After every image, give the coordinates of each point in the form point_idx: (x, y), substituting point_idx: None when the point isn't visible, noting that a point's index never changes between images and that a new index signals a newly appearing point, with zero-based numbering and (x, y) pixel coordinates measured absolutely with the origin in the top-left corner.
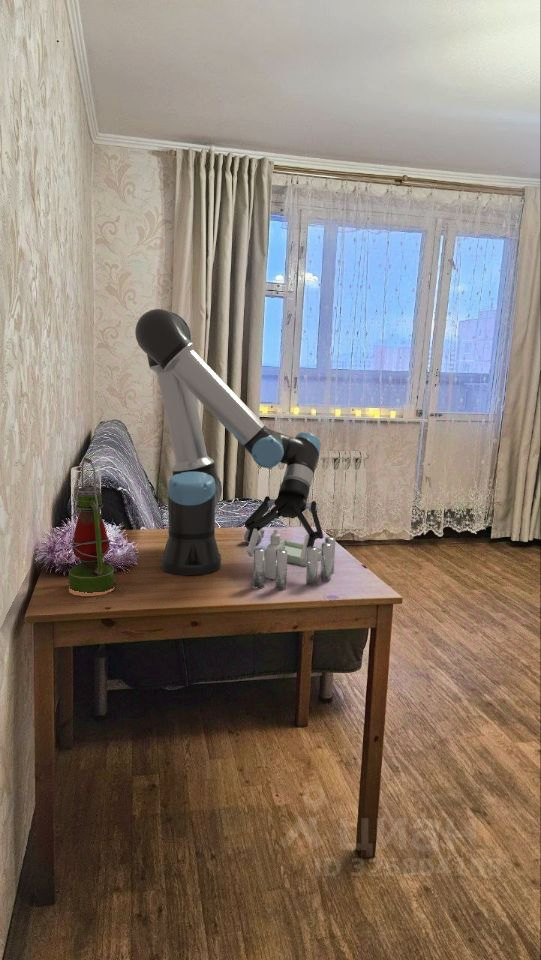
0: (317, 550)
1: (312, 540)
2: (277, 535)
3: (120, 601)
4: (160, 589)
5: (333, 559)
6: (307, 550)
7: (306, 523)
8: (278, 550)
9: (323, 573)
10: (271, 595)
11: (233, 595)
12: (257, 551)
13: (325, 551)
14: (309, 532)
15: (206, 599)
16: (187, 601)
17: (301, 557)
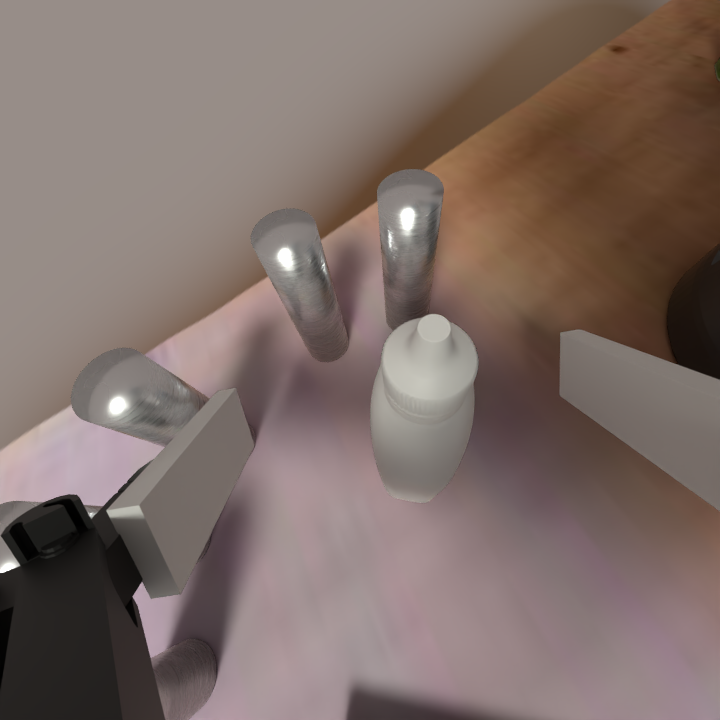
0: (83, 383)
1: (106, 507)
2: (396, 335)
3: (636, 73)
4: (642, 151)
5: None
6: (154, 363)
7: (45, 688)
8: (306, 232)
9: None
10: None
11: None
12: (404, 172)
13: None
14: (85, 546)
15: (474, 170)
16: (505, 141)
17: (225, 391)
